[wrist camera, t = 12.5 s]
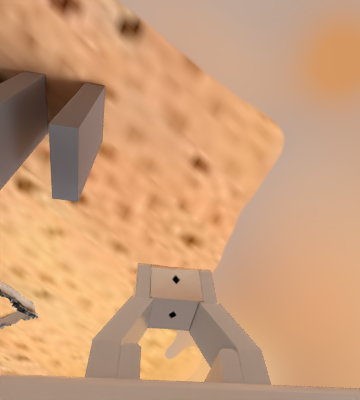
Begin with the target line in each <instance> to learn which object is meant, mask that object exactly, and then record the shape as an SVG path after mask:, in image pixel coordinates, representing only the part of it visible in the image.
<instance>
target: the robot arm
mask: <svg viewBox="0 0 360 400" xmlns="http://www.w3.org/2000/svg"><path fill="white" fill-rule="evenodd" d="M147 328H160V329H175V330H186V331H189V333H190V335H191V336H192V338H193V339H194V341H195V342H196V344H197V346H198V348H199V349H200V351H201V353H202V354H203V356H204V358H205V359H206V361H207V362H208V364H209V366H210V367H211V369H210V372H209V373H208V375H207V377H206V379H205V381H204V382H188V381H164V380H139V378H140V358H141V347H140V346H139V345H138V344H137V343H138V342H139V340H140V339H141V337H142V336H143V335H144V333H145V332H146V330H147ZM0 400H360V388H359V389H358V388H335V387H311V386H286V385H285V386H284V385H271V382H270V379H269V375H268V372H267V368H266V365H265V361H264V358H263V355H262V351H261V349H260V348H259V347H258V346H257V345H256V344H255V342H254V341H253V340H252V339H251V338H250V337H249V336H248V334H247V333H246V332H245V331H244V330H243V329H242V328H241V326H240V325H239V324H238V323H237V322H236V321H235V320H234V318H232V316H231V315H230V314H229V313H228V312H227V311H226V309H225V308H224V307H223V306H222V305H221V304H217V300H216V294H215V289H214V284H213V279H212V274H211V271H210V270H201V269H190V268H179V267H168V266H160V265H152V264H151V265H150V264H143V263H138V267H137V273H136V278H135V284H134V291H133V296H131V297H130V299H129V300H128V301H127V302H126V303H125V304H124V305H123V306H122V307H121V309H120V310H119V311H118V312H117V313H116V314H115V315H114V316H113V318H112V319H111V320H110V321H109V322H108V323H107V324H106V325H105V326H104V328H103V329H102V330H101V331H100V332H99V333H98V334H97V335H96V336H95V338H94V339H93V341H92V346H91V350H90V355H89V360H88V364H87V369H86V374H85V377H66V376H42V375H18V374H0Z"/></svg>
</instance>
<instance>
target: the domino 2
mask: <svg viewBox="0 0 360 400" xmlns="http://www.w3.org/2000/svg"><path fill="white" fill-rule="evenodd" d="M104 100H105V86H102V85H97V84H92V83H85V84H84V85H83V86H82V87H81V88H80V89H79V90H78V92H77V93H76V94H75V95H74V96H73V97H72V98H71V99H70V100H69V102H68V103H67V104H66V105H65V106H64V107H63V108H62V109H61V110H60V112H59V113H58V114H57V115H56V116H55V117H54V118H53V119H52V120H51V122H50V123H49V142H50V162H51V182H52V198H53V199H61V200H70V201H78V200H79V198H80V195H81V193H82V190H83V188H84V185H85V183H86V180H87V178H88V175H89V173H90V170H91V168H92V165H93V163H94V160H95V158H96V155H97V153H98V150H99V148H100V145H101V143H102V136H103V118H104Z"/></svg>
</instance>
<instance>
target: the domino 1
mask: <svg viewBox="0 0 360 400" xmlns="http://www.w3.org/2000/svg"><path fill="white" fill-rule="evenodd" d="M47 134H48V119H47V99H46V80H45V75H43V74H38V73H33V72H27V71H23V72H21V73H19V74H18V75H16V76H14V77H12V78H10V79H8V80H6V81H4V82H2V83H0V190H1V189H2V187H3V186H4V185H5V184H6V183H7V181H8V180H9V179H10V178H11V177H12V175H13V174H14V173H15V172H16V171H17V169H18V168H19V167H20V166H21V165H22V163H23V162H24V161H25V160H26V159H27V157H28V156H29V155H30V154H31V153H32V151H33V150H34V149H35V148H36V147H37V146H38V144H39V143H40V142H41V141H42V140H43V138H44V137H45V136H46V135H47Z"/></svg>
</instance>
